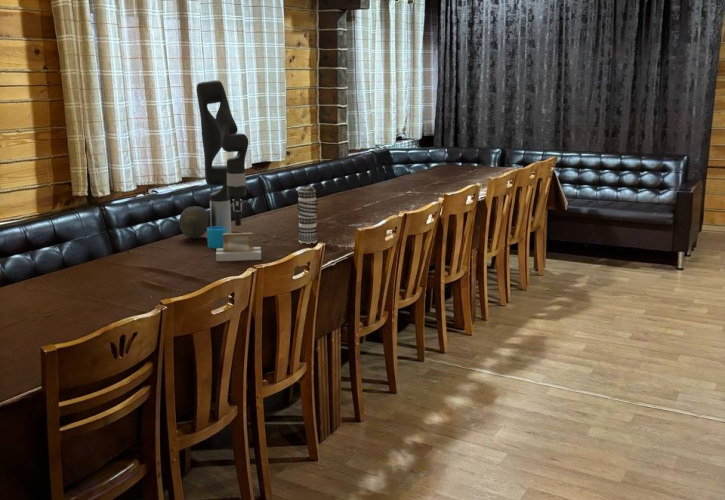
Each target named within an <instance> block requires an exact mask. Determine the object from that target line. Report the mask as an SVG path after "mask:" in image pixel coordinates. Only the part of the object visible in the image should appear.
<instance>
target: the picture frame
mask: <svg viewBox="0 0 725 500" xmlns="http://www.w3.org/2000/svg"><path fill="white" fill-rule="evenodd" d="M253 247H254V233H253V232H231V233H224V234H223V250H224V252H240V251H253Z"/></svg>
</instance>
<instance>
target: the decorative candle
mask: <svg viewBox="0 0 725 500" xmlns="http://www.w3.org/2000/svg"><path fill="white" fill-rule="evenodd" d="M297 191H298V199H297V200H296V202H297V211H298V212H297V215H298V216H297V217H298V218H299V222H298V243H299V242H300V243H299V244H302V243H306V244H305V245H311V243H313V244H316V242H317V243H318V233H317V232H318V230H317V229H318V226H317V217H318V215H317V213H318V211H317V210H318V207H317V206H318V203H317V202H318V201H319V200H318V199H317V196H316V195H317V194H316V193H317V192H316V191H317V190H316V189H315V187H313V186H301V187H300V188H299V189H298V190H297Z"/></svg>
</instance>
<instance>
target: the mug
mask: <svg viewBox="0 0 725 500" xmlns="http://www.w3.org/2000/svg"><path fill="white" fill-rule="evenodd" d="M224 233H227V232H226V227H223V226H213V227H211V226H209V227H208V228H207V231H206V235H207V236H206V238H207V247H208V248H209V249H217V248H223V234H224Z"/></svg>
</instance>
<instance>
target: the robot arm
mask: <svg viewBox="0 0 725 500" xmlns="http://www.w3.org/2000/svg"><path fill="white" fill-rule="evenodd" d="M196 96H197V103H198V108H199V116H200V127H201V139H202V140H201V141H202V147H203V155H204V157H203V159H204V178H205V182H206V185H208V186H212V187H214V186H222V187H221V188H220V189H219V190H217V191H214V192H211V193H210V194H209V212H210V216H209V217H210V227H213V226H223V227H226V232H227V233H232V218H231V217H232V215H231V205H232V206H233V207H232V211H233V212H234V214H233V215H234V220H235V221H234V224H235V226H236V227H240V226H241V225H242V219H241V217H242V213H241V212H243V199H241V197H245V196H247V180H246V179H247V178H246V169H245V168H246V166H245V162H246V156H247V153H248V148H249V139H248V137H247V135H246V134H245V133H238V126H237V123H236V121H235V119H234V116H233V115H232V112H231V107H230V103H229V100H228V97H227V94H226V91H225V88H224V85H223V83H222V81H220V80H218V79H216V80H207V81H201V82H198V83H197V84H196ZM218 103H219V107H218V110H217V112H216V115H215V117H214V116H213V114H212V113H211V112H210V110H209V108H208V106H209V105H211V104H218ZM221 149H222V150H223V151H225V152H226V153H234V152H235V153H236V152H237V153H236V155H235V156H233V157H230V158H227V159H226V165H225V164H224V165H223V164H221V165H217V164H216V165H213V161H214V160H215V158H216V156H217V155H218V153H219V152H220V150H221ZM230 197H231V198H233V199H232V200H231V198H230ZM231 201H232V203H231Z"/></svg>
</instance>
